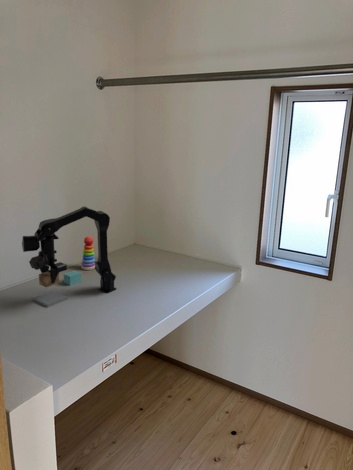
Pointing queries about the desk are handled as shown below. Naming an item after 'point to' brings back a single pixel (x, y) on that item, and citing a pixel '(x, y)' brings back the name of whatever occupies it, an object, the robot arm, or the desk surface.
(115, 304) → the desk surface
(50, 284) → the walnut brick
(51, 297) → the baseplate
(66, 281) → the teal brick
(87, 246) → the stacking toy
